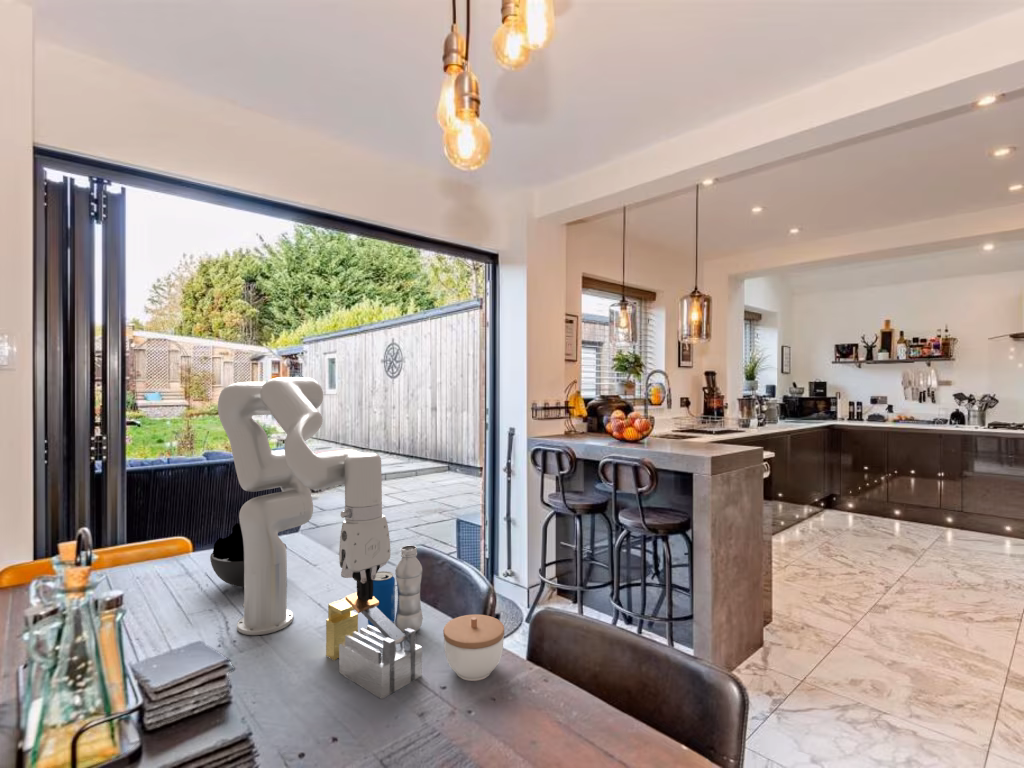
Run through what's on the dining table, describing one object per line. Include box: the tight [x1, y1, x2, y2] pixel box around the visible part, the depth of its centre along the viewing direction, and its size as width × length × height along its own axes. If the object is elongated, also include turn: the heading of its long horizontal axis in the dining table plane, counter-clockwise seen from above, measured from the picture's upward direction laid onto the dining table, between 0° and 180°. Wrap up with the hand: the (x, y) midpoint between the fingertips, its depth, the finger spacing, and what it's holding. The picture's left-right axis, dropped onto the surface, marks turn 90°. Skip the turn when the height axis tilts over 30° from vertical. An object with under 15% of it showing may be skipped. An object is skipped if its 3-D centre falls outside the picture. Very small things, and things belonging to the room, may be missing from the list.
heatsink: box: [338, 624, 423, 700], centre depth 108 cm, size 14×10×10 cm
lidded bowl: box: [442, 613, 505, 682], centre depth 109 cm, size 13×13×11 cm
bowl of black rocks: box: [209, 522, 287, 588], centre depth 154 cm, size 20×20×19 cm
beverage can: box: [367, 570, 396, 627], centre depth 130 cm, size 6×6×12 cm
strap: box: [344, 591, 408, 645], centre depth 108 cm, size 16×5×1 cm, turn 51°
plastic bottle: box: [394, 544, 424, 633], centre depth 126 cm, size 6×7×20 cm
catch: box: [325, 597, 359, 661], centre depth 115 cm, size 5×6×11 cm
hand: (365, 598), depth 111 cm, fingers closed
